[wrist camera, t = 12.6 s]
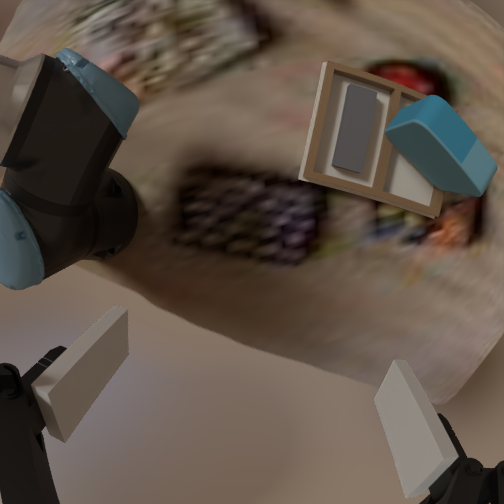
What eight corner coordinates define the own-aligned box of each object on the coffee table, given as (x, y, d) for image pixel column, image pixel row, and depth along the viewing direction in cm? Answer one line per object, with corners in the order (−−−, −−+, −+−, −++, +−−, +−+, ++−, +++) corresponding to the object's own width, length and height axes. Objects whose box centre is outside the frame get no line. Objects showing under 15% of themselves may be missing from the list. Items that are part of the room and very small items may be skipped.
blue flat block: (453, 168, 36) (502, 170, 24) (438, 190, 37) (485, 199, 25) (397, 110, 35) (437, 91, 23) (380, 132, 36) (417, 119, 24)
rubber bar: (331, 165, 40) (333, 165, 38) (347, 87, 36) (350, 83, 34) (358, 173, 39) (361, 173, 38) (373, 95, 36) (377, 92, 34)
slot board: (297, 179, 41) (299, 179, 39) (322, 63, 36) (325, 57, 34) (431, 218, 41) (440, 221, 38) (451, 111, 36) (460, 109, 33)
